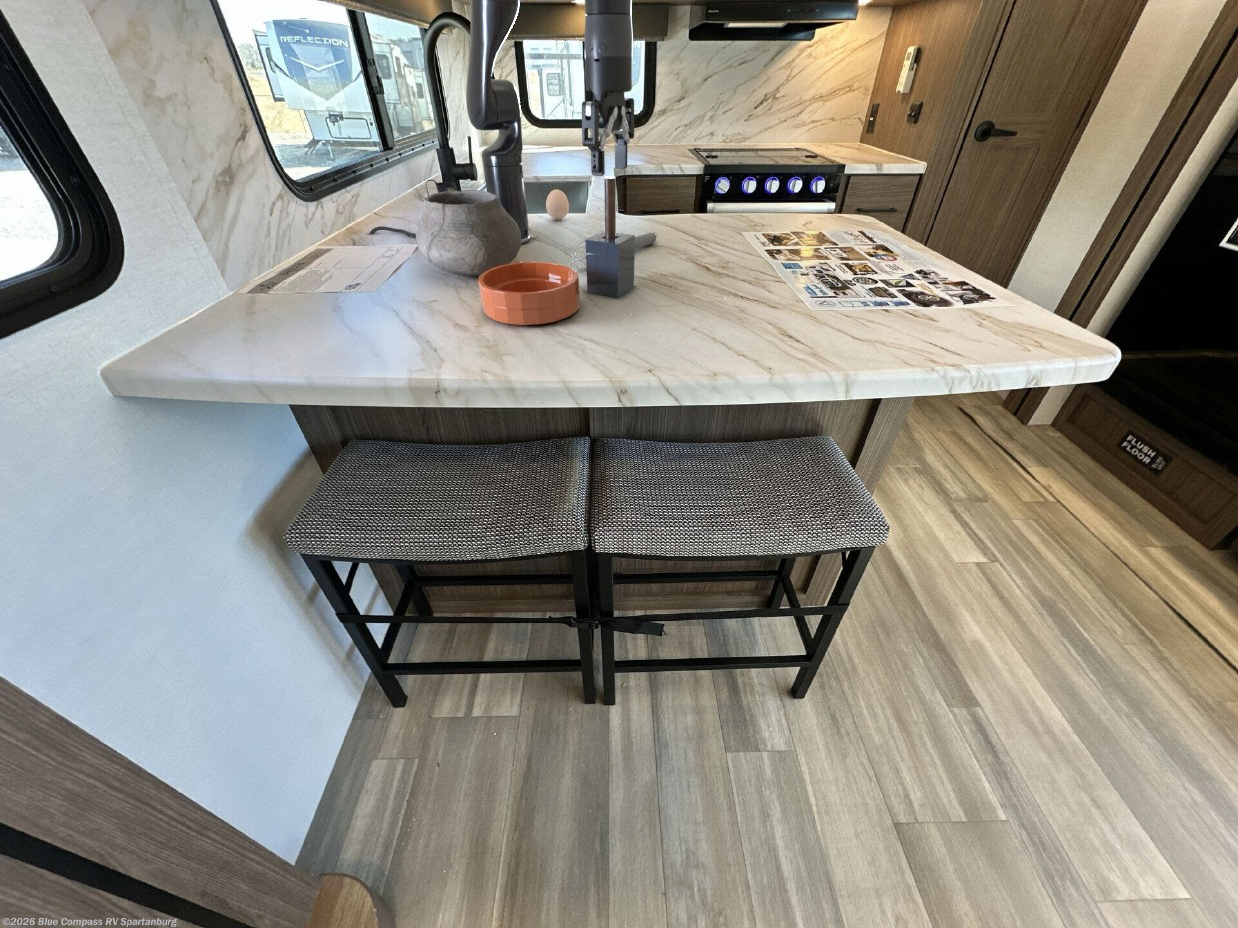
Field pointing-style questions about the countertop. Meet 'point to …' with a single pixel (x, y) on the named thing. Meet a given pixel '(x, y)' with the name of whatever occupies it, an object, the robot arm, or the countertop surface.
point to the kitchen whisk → (639, 242)
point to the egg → (557, 204)
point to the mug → (443, 186)
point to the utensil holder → (610, 264)
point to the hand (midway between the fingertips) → (609, 172)
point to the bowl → (529, 292)
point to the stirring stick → (610, 207)
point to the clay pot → (467, 232)
